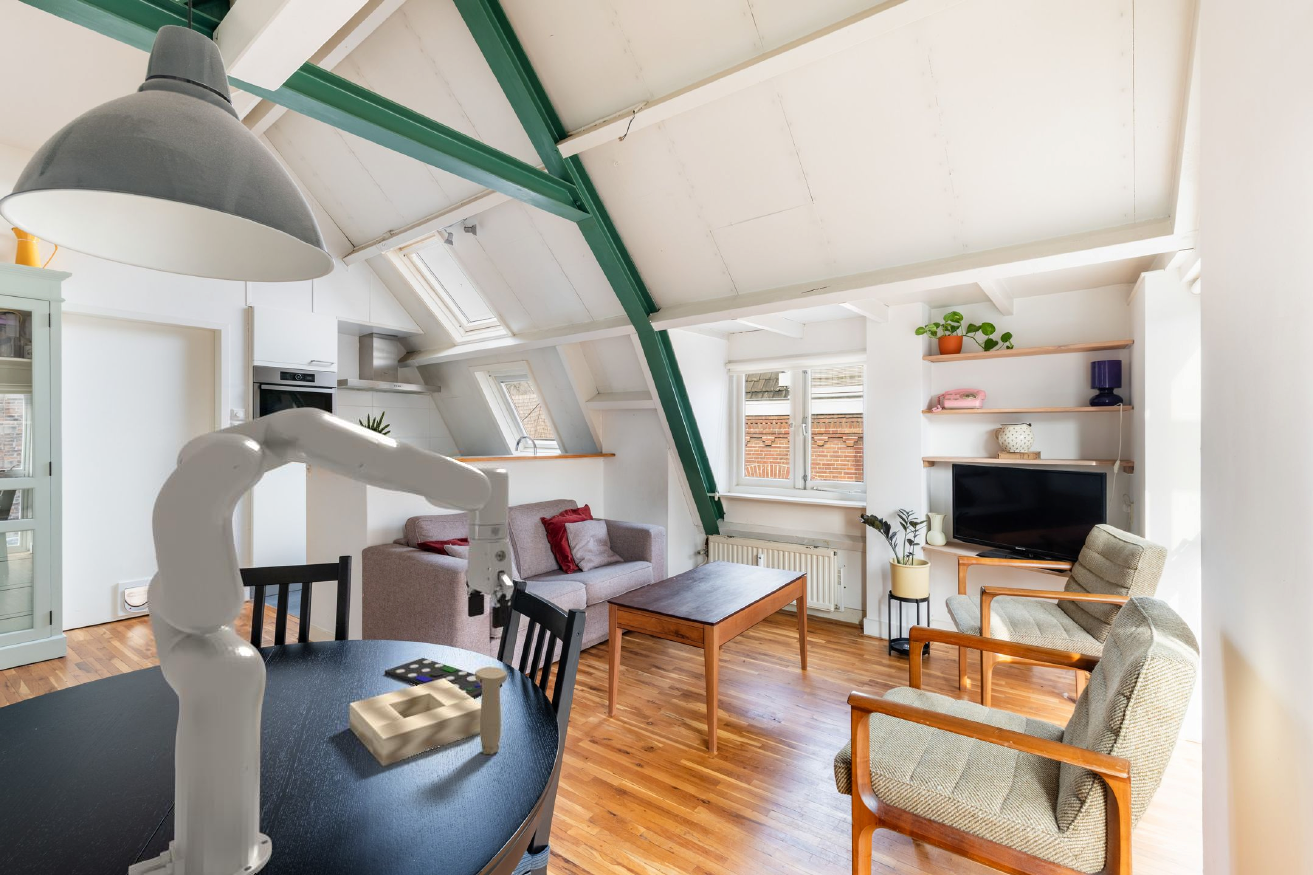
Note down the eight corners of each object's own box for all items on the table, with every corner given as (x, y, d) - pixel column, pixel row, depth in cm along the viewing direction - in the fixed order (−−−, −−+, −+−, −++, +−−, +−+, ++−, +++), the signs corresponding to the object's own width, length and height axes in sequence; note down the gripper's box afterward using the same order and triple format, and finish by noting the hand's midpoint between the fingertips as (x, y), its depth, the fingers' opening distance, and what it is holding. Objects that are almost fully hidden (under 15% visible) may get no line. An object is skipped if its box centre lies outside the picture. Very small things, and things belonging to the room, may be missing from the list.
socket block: (383, 766, 110) (383, 738, 110) (349, 727, 125) (349, 703, 125) (485, 731, 124) (485, 706, 124) (443, 700, 138) (444, 678, 138)
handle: (491, 761, 112) (492, 680, 112) (469, 751, 116) (470, 672, 116) (511, 750, 116) (512, 672, 116) (489, 741, 120) (490, 665, 120)
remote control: (464, 705, 137) (465, 696, 137) (384, 676, 153) (384, 668, 153) (502, 688, 146) (502, 680, 146) (422, 663, 163) (422, 655, 163)
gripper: (529, 535, 113) (528, 627, 113) (484, 525, 125) (484, 608, 125) (492, 539, 108) (492, 636, 108) (450, 529, 120) (449, 615, 120)
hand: (487, 620), depth 117 cm, fingers open, 9 cm apart
